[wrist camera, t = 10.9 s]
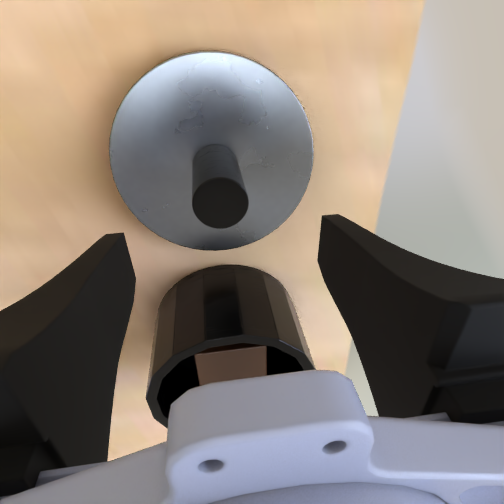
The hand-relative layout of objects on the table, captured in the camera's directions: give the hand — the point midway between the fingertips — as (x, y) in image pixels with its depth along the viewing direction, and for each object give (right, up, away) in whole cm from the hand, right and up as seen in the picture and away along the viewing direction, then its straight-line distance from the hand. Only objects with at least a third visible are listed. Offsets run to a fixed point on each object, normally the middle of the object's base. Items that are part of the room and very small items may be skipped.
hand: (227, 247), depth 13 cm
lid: (-1, +5, +6) cm, 8 cm away
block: (-1, -5, +13) cm, 14 cm away
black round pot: (-1, -5, +13) cm, 14 cm away
